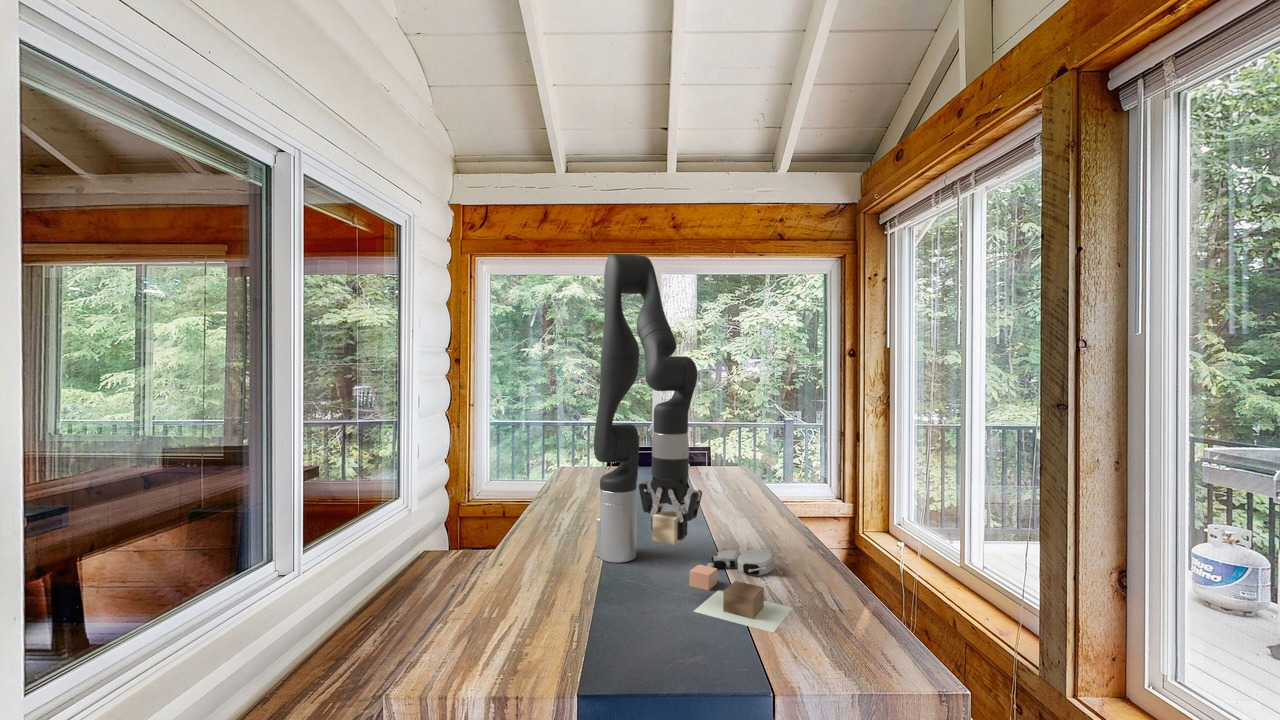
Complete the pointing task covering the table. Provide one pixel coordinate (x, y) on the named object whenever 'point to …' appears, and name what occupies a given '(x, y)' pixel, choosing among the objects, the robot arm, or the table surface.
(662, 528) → the maple block
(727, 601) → the walnut block
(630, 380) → the robot arm
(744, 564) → the robot toy
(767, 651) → the table surface
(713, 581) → the terracotta block
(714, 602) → the board
